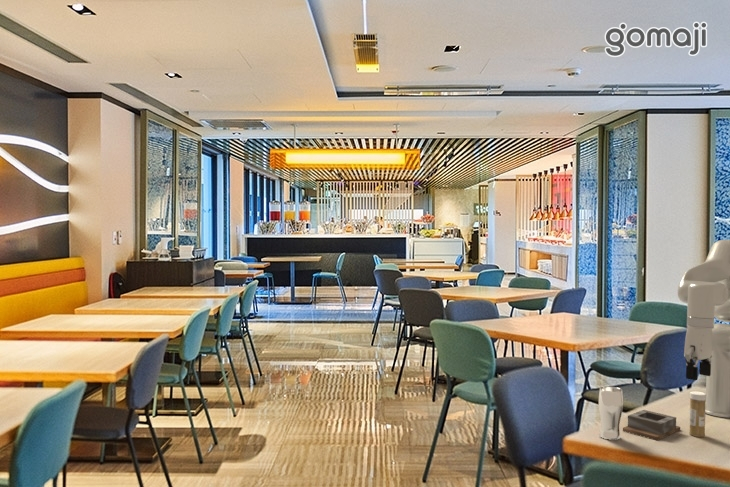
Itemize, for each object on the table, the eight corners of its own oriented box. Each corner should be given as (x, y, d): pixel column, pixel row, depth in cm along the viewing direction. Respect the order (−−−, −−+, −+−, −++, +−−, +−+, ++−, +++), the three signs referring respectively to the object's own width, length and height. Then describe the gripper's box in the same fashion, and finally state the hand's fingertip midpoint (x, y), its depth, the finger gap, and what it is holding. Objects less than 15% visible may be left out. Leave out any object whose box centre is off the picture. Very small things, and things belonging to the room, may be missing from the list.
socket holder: (646, 421, 210) (647, 408, 210) (680, 429, 202) (680, 416, 201) (622, 430, 200) (623, 416, 200) (657, 440, 191) (657, 425, 191)
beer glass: (623, 441, 189) (625, 392, 189) (599, 439, 191) (601, 391, 190) (619, 434, 196) (620, 386, 196) (596, 432, 198) (597, 385, 197)
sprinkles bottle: (706, 438, 194) (707, 395, 193) (690, 436, 195) (691, 393, 195) (703, 433, 198) (704, 391, 198) (687, 432, 200) (688, 390, 199)
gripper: (699, 319, 204) (697, 371, 204) (675, 323, 193) (673, 378, 193) (724, 322, 198) (722, 376, 199) (701, 326, 187) (699, 383, 187)
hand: (698, 377), depth 196 cm, fingers open, 9 cm apart
